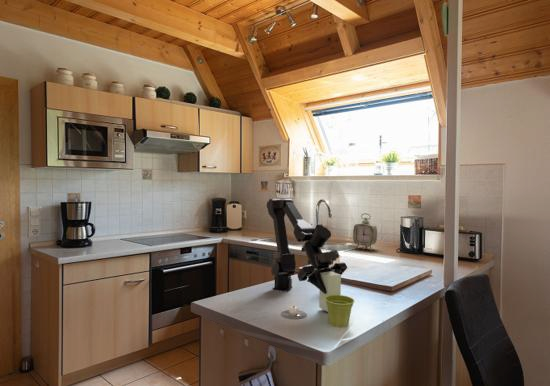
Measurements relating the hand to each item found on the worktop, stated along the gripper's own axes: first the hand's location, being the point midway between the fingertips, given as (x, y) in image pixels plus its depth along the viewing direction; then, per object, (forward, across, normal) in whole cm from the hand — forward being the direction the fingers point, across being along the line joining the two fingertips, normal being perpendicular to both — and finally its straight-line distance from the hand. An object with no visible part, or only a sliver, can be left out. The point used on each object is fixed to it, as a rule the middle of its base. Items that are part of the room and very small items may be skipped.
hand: (332, 292), depth 132 cm
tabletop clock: (-60, +100, +72) cm, 137 cm away
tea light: (+2, -13, +8) cm, 15 cm away
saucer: (+3, -13, +8) cm, 16 cm away
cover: (+3, 0, +5) cm, 6 cm away
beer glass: (-11, +18, +23) cm, 31 cm away
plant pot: (+12, -4, -1) cm, 13 cm away
